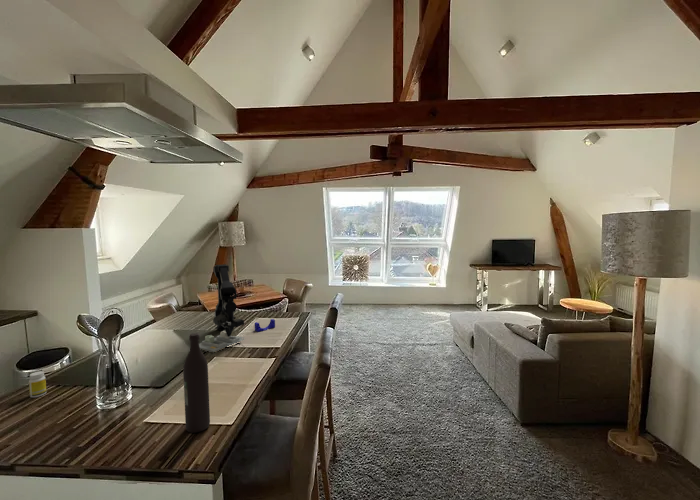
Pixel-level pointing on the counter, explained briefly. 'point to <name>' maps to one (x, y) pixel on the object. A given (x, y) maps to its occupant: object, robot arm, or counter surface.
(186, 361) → the wine bottle
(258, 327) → the blue u-shaped bracket
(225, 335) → the tab ivory
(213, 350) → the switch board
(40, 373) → the supplement bottle
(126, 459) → the counter surface
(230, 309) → the robot arm
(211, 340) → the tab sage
